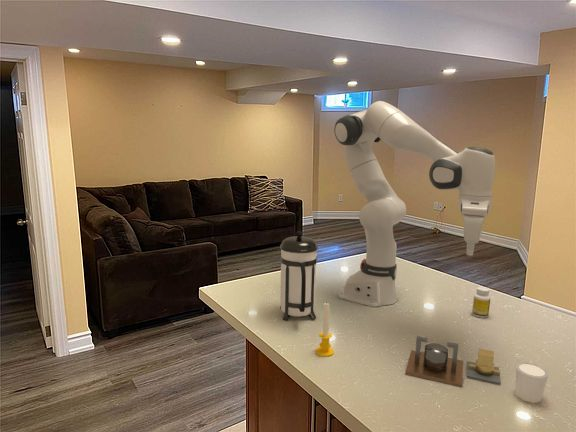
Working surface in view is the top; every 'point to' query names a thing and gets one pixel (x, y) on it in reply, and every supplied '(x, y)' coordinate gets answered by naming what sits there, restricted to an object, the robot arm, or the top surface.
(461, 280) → the top surface
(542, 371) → the white cylinder
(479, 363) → the cap
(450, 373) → the drum on wooden base
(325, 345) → the candle
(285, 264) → the coffee press
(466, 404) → the top surface
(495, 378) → the mat
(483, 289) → the supplement bottle
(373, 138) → the robot arm
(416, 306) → the top surface
